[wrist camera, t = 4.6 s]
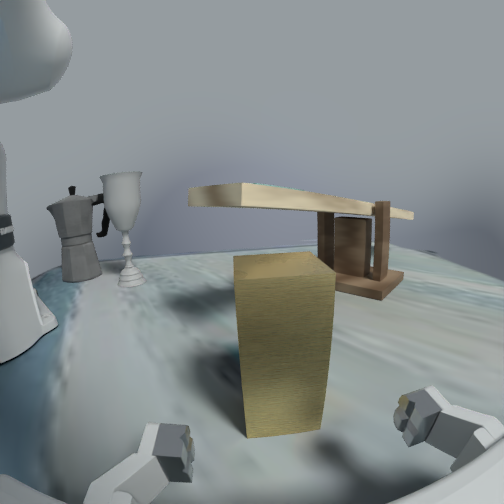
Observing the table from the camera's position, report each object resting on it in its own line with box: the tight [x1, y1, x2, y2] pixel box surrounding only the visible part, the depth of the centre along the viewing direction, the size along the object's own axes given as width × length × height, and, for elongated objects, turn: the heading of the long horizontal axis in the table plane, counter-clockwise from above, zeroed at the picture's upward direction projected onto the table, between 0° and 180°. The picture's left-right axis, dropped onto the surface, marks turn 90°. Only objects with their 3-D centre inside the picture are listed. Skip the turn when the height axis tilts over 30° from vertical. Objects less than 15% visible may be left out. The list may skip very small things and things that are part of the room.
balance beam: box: [188, 183, 414, 220], centre depth 38 cm, size 7×49×2 cm, turn 134°
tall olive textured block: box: [233, 251, 336, 438], centre depth 15 cm, size 4×4×10 cm
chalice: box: [100, 172, 146, 287], centre depth 42 cm, size 7×7×18 cm
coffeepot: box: [47, 186, 110, 283], centre depth 47 cm, size 15×9×18 cm, turn 100°
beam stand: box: [317, 201, 404, 300], centre depth 39 cm, size 14×10×12 cm
